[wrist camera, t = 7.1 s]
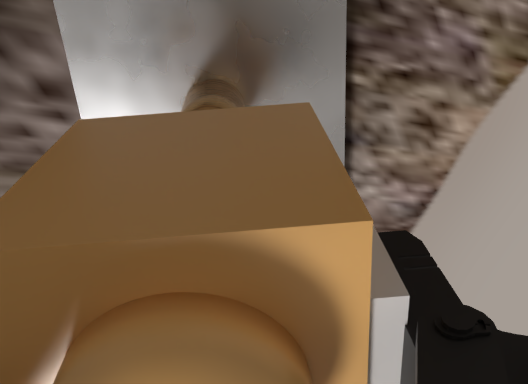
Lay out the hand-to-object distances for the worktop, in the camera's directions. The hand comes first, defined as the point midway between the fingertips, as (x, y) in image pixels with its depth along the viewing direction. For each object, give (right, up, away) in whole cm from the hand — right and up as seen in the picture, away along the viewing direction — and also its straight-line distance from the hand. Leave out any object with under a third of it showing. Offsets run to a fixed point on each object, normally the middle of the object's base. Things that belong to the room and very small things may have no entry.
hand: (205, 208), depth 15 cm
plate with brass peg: (-1, +6, +8) cm, 10 cm away
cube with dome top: (0, 0, 0) cm, 0 cm away
